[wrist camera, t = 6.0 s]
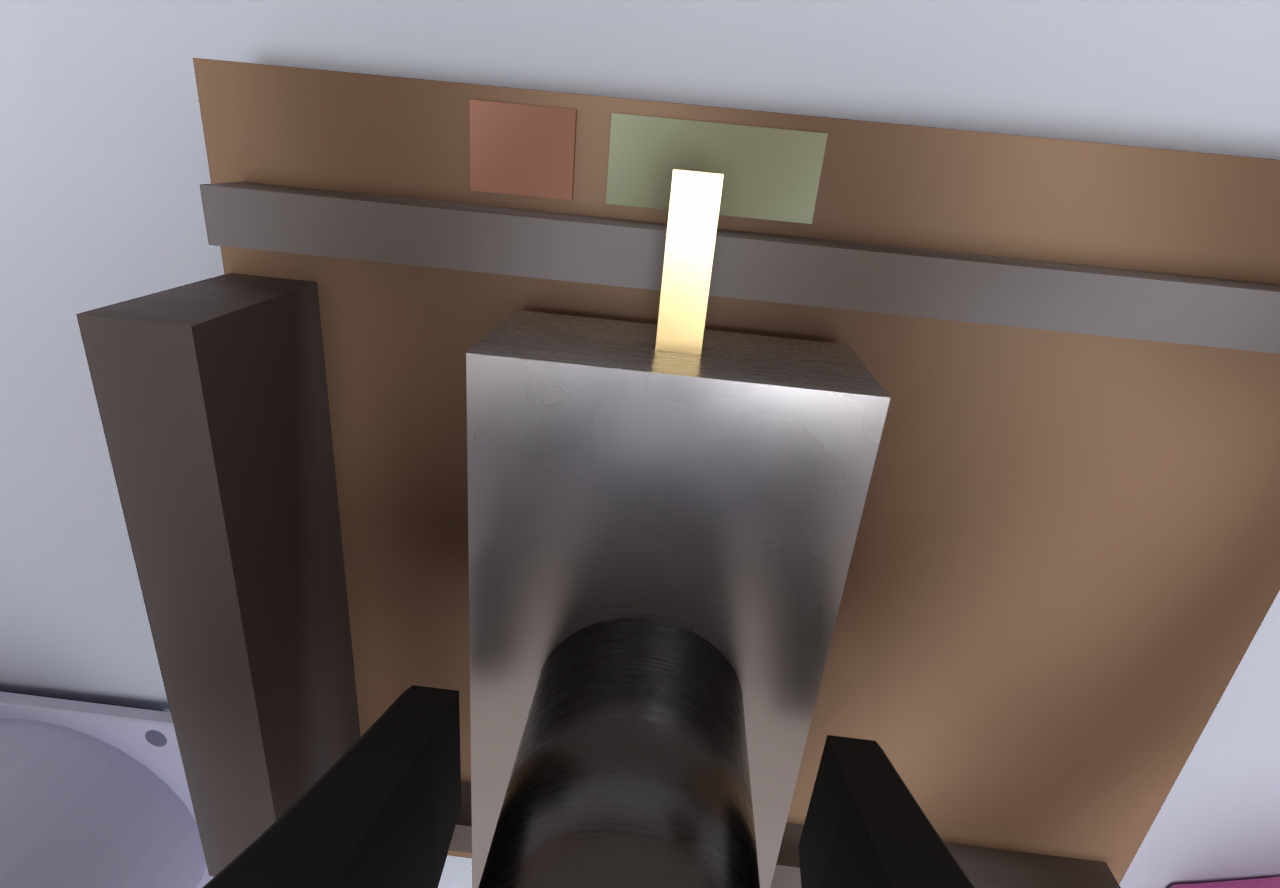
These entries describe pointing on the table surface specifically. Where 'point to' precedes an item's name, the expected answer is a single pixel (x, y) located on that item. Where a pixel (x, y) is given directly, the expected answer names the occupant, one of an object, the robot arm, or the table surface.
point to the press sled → (653, 579)
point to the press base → (737, 302)
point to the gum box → (1236, 884)
